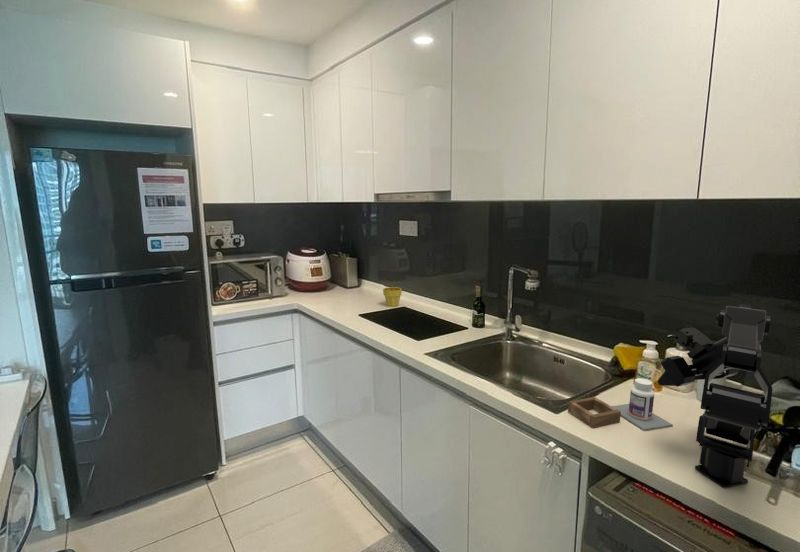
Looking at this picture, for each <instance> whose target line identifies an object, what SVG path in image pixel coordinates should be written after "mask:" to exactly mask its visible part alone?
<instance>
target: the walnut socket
mask: <svg viewBox="0 0 800 552" xmlns="http://www.w3.org/2000/svg"><path fill="white" fill-rule="evenodd" d="M567 403H568V405H567V406H568V407H567V412H568V413H569V414H571V415H572V416H574V417H575V418H576V419H578V420H579V421H581V422H583V423H585V424H586V425H587V426H588V427H590V428H592V429H597V428H600V427H605V426H609V425H614V424H618V423H620V422H621V416H620V415H621V411H619V410H617V409H615V408H613V407H612V406H613V405H610V404H608V403H606V402H604V401H603V400H601V399H599V398H597V397H596V396H589V397H586V398H580V399H575V400H571V401H568V402H567ZM591 410H593V411H596V412H597V413H593V412H591Z"/></svg>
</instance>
